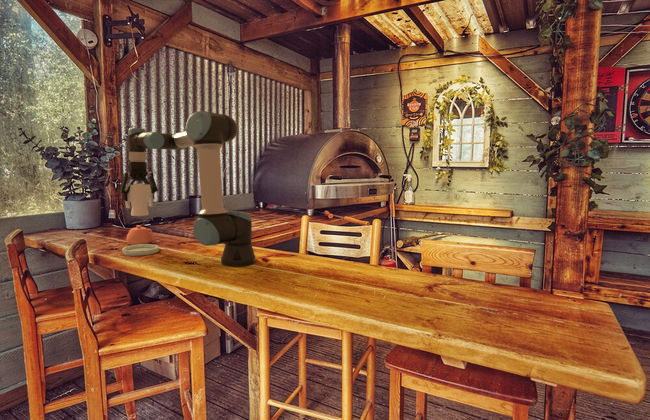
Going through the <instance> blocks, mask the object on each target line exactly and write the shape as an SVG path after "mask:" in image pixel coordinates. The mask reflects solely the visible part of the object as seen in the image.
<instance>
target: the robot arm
mask: <svg viewBox="0 0 650 420" xmlns="http://www.w3.org/2000/svg"><path fill="white" fill-rule="evenodd" d="M238 128H239V127H238V124H237V122H236V120H234V118H232V116H230V115H228V114H223V113H217V112H216V113H215V112H210V111H202V110H201V111H200V110H199V111H195V112H193V113H191V114H190V115H189V117H188V118H187V121H186V123H185V130H184V131H179V132H176V133H164V132H157V131H147V132H146V129H145V128H143V127H142V128H140V127H130V128H128V134H127V139H128V140H127V141H128V160H129V163H128V165H129V166H128V167H129V172H126V171H125V172H122V181H121V183H120V186H119V189H118V192H119V194H122V195H123V201H124V202H125V208H126V209H131V202H130V194H128V193H129V191H130V186H131V185H133V184H135V183H136V182H141V181H142V182H143V184H145V185H148V184H150V187H151V196H150V199H149V201H148V207H154V200H155V194H156V192H159V189H158V186H157V183H156V180H155V178H154V177H155V176H154V172H151V171H148V170H147V169H148V163H147V160H148V159H147V149H148V150H149V149H150V150H174V151H183V150H186V148H189V147H194V148H195V149H196V150H197V157H198V172H199V187H200V200H201V210H200V211H199V212H198V218H197V219H195V220H194V222H193V225H192V230H193V231H192V232H193V234H194V235H193V236H194V237H195V239H196V240H197V241H198V243H199V244H201V245H203V246H206V247H209V246H216V245H219V244H220V245H221V244H224V248H223V251H222V256H221V258H220V263H221V265H223V266H227V267H244V266H245V265H247V266H250V264H251V265H253V263H254V264H255V263H256V261H257V260H256V259H257V258H256V255H255V252H254V249H253V246H252V244H253V243H252V241H253V239H252V238H253V237H252V234H253V232H252V231H253V230H252V228H253V227H252V223H253V221H252V214H251V213H250V212H247V211H246V212H245V211H237V210H227V209H225V208H224V199H223V198H224V196H223V194H224V193H223V186H222V185H223V181H222V168H221V153H220V151H221V148H222V147H223V146H224V143H229V142H232V141H233V140H234V139H235V138H236V137H237V135H238V132H239V131H238ZM129 177H130V178H129ZM147 177H148V178H147ZM128 180H129V181H128ZM245 267H246V266H245Z"/></svg>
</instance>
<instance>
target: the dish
mask: <svg viewBox="0 0 650 420" xmlns="http://www.w3.org/2000/svg"><path fill="white" fill-rule="evenodd" d="M121 249H122V250H121V251H122V252H121V253H122V255H125V256H130V257H133V256H134V257H135V256H136V257H137V256H138V257H140V256H147V255H149V256H150V255H153V254H156V253H158V252H159V251H160V247H159V245H158V244H155V243H154V244H152V243H148V244H138V245H127V246H124V247H122V248H121Z"/></svg>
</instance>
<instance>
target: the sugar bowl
mask: <svg viewBox="0 0 650 420" xmlns="http://www.w3.org/2000/svg"><path fill="white" fill-rule="evenodd" d="M135 226H136V227H132V228H130V230H129V231H128V233H127V235H126V238H125V242H126V243H127V244H128V245H129V246H131V245H138V244H151V243H150V242H153V241H154V239H155V238H154V237H153V232H154V231H153V230H152V229H151V228H146V227H143V226H142V225H140V224H139V225H138V224H137V225H135Z"/></svg>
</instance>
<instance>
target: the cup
mask: <svg viewBox="0 0 650 420" xmlns="http://www.w3.org/2000/svg"><path fill="white" fill-rule="evenodd" d="M150 185H151V183H150V184H148V185H145V184H144V183H134V184H133V185H131V186H130V191H129V193H128V194H130V206H131V212H130V216H133V217H143V216H144V217H146V216H149V215H150V214H149V209H148V207H149V199H150V196H151V187H152V186H151V187H150Z"/></svg>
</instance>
